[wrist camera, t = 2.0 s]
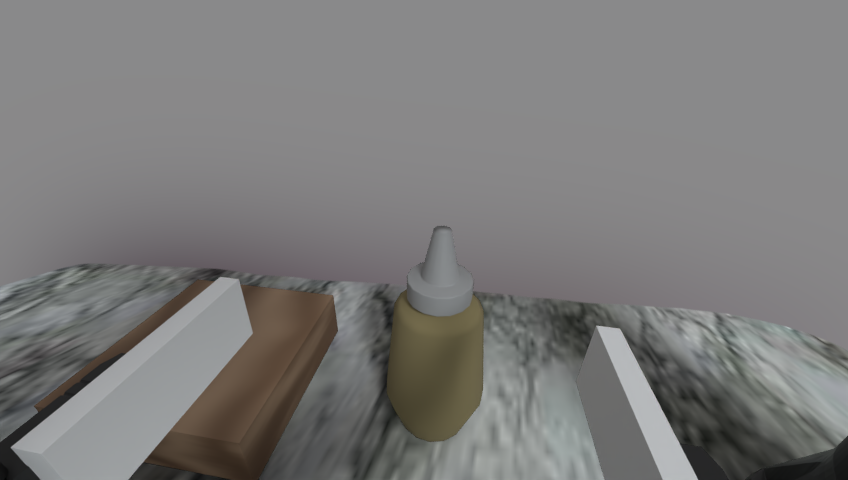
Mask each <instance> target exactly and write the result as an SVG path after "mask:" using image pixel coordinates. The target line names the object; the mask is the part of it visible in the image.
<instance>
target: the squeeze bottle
mask: <svg viewBox="0 0 848 480" xmlns="http://www.w3.org/2000/svg"><path fill="white" fill-rule="evenodd" d="M473 286H474V280H473V277H472V274H471V273H470V272H469V271H468V270H467V269H466V268H465V267H463V266H461V265H458V264H457V258H456V252H455V246H454V240H453V234H452V229H451V228H450V227H447V226H437V227H435V228H434V230H433V234H432V237H431V241H430V245H429V248H428V251H427V255H426V258H425V262H424V263H420V264H418V265H417V266H415V267H413V268H412V269H411V270H410V272H409V273H408V275H407V290H405V291H404V292H402V293H401V294H400V296H399V297H398V299H397V300H396V302H395V305H394V315H393V325H392V334H391V344H390V354H389V364H388V374H387V395H388V397H389V399H390V401H391V403H392V405H393V408H394V410H395V411H396V413H397V415H398V416H399V418H400V419H401V421H402V423H403V424H404V426H405V427H406V429H407V430H408V431H410V432H411V433H412V434H413V435H414V436H415V437H417V438H420V439H423V440H426V441H429V442H434V441H444V440H446V439H448V438H450V437H452V436H454V435H456V434H457V432H458V431H459V430H460V429H461V427H462V426H463V425H464V424H465V423H466V421H467V420H468V419H469V418H470V416H471V415H472V414H473V412H474V411H475V410H476V409H477V407H478V406H479V405H480V401H481V396H482V391H483V328H484V311H483V308H482V306H481V303H480V300H479V299H478V298H477V297H476V296H475V295H474V294H473Z"/></svg>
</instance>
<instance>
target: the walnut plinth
mask: <svg viewBox="0 0 848 480" xmlns="http://www.w3.org/2000/svg"><path fill="white" fill-rule="evenodd" d="M214 282H215V281H206V280H197V281H196V282H194V283H193V284H192V285H190V286H189V287H188V288H186V289H185V290H184V291H183V292H181V293H180V294H179V295H177V296H176V297H175V298H174V299H172V300H171V301H170V302H168V303H167V304H166V305H164V306H163V307H162V308H161V309H159V310H158V311H157V312H155V313H154V314H153V315H151V316H150V317H149V318H148V319H146V320H145V321H144V322H142V323H141V324H140V325H138V326H137V327H136V328H135V329H133V330H132V331H131V332H129V333H128V334H127V335H126V336H124V337H123V338H122V339H120V340H119V341H118V342H116V343H115V344H114V345H113V346H111V347H110V348H109V349H107V350H106V351H105V352H103V353H102V354H101V355H100V356H98V357H97V358H96V359H94V360H93V361H92V362H90V363H89V364H88V365H87V366H85V367H84V368H83V369H81V370H80V371H79V372H78V373H76V374H75V375H74V376H72V377H71V378H70V379H68V380H67V381H66V382H65V383H63V384H62V385H61V386H59V387H58V388H57V389H55V390H54V391H53V392H52V393H50V394H49V395H48V396H46V397H45V398H44V399H43V400H41V401H40V402H39V403H37V404H36V405H35V406H34V407H35V408H36V409H37V411H38V412H40V411H41V410H42V409H44V408H45V407H46V406H47V405H49V404H50V403H51V402H52V401H54V400H55V399H56V398H58V397H59V396H60V395H64V393H65V391H67V390H68V389H69V388H70V387H72V386H73V385H74V384H75V383H79V382H80V381H81V379H82V378H83V377H84V376H86V375H87V374H88V373H89V372H91V371H92V370H93V369H95V368H96V367H97V366H98V365H100V364H102V363H103V362H105V361H107V360H109V359H111V358H113V357H115V356H117V355H118V354H120V353H127V352H129V351H130V350H131V349H132V348H134V347H135V346H136V345H137V344H139V343H140V342H141V341H142V340H143V339H145V338H146V337H147V336H148V335H150V334H151V333H152V332H153V331H155V330H156V329H157V328H158V327H159V326H161V325H162V324H163V323H164V322H166V321H167V320H168V319H169V318H171V317H172V316H173V315H174V314H175V313H177V312H178V311H179V310H180V309H182V308H183V307H184V306H185V305H187V304H188V303H189V302H190V301H191V300H193V299H194V298H195V297H196V296H198V295H199V294H200V293H201V292H203V291H204V290H205V289H206V288H207V287H209V286H210V285H211V284H212V283H214ZM240 286H241V290H242V293H243V297H244V301H245V305H246V309H247V312H248V316H249V320H250V324H251V328H252V332H253V334H252V335H251V336H250V337H249V339H248V340H247V341H246V342H245V343H244V344H243V346H242V347H241V348H240V349H239V350H238V351H237V353H236V354H235V355H234V356H233V357H232V358H231V360H230V361H229V362H228V363H227V364H226V365H225V367H224V368H223V369H222V370H221V371H220V373H219V374H218V375H217V376H216V377H215V378H214V380H213V381H212V382H211V383H210V384H209V385H208V387H207V388H206V389H205V390H204V391H203V392H202V394H201V395H200V396H199V397H198V398H197V399H196V401H195V402H194V403H193V404H192V405H191V407H190V408H189V409H188V410H187V411H186V412H185V414H184V415H183V416H182V417H181V418H180V419H179V421H178V422H177V423H176V424H175V425H174V426H173V428H172V429H171V430H170V431H169V432H168V433H167V435H166V436H165V437H164V438H163V439H162V441H161V442H160V443H159V444H158V445H157V446H156V448H155V449H154V450H153V451H152V452H151V453H150V455H149V456H148V457H147V458H146V459H145V460H144V462H145V463H150V464H155V465H160V466H165V467H170V468H175V469H180V470H186V471H191V472H196V473H201V474H206V475H211V476H216V477H221V478H226V479H231V480H258V478H259V477H260V475H261V473H262V471H263V469H264V467H265V465H266V464H267V462H268V460H269V458H270V456H271V454H272V452H273V451H274V449H275V447H276V445H277V443H278V441H279V439H280V437H281V436H282V434H283V432H284V430H285V428H286V426H287V424H288V423H289V421H290V419H291V417H292V415H293V413H294V411H295V410H296V408H297V406H298V404H299V402H300V400H301V398H302V396H303V395H304V393H305V391H306V389H307V387H308V385H309V383H310V382H311V380H312V378H313V376H314V374H315V372H316V370H317V369H318V367H319V365H320V363H321V361H322V359H323V357H324V356H325V354H326V352H327V350H328V348H329V346H330V344H331V342H332V341H333V339H334V337H335V335H336V333H337V331H338V328H337V320H336V313H335V305H334V297H333V295H325V294H316V293H308V292H299V291H291V290H282V289H274V288H266V287H257V286H249V285H240Z"/></svg>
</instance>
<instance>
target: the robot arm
mask: <svg viewBox="0 0 848 480" xmlns="http://www.w3.org/2000/svg"><path fill="white" fill-rule="evenodd" d="M252 334H253V332H252V328H251V324H250V320H249V316H248V312H247V309H246V305H245V301H244V297H243V293H242V290H241V286H240V282H239V279H233V278H225V277H220V278H219V279H217V280H216V281H215V282H214V283H212V284H211V285H210V286H209V287H207V288H206V289H205V290H204V291H203V292H201V293H200V294H199V295H198V296H196V297H195V298H194V299H193V300H191V301H190V302H189V303H188V304H187V305H185V306H184V307H183V308H182V309H180V310H179V311H178V312H177V313H175V314H174V315H173V316H172V317H171V318H169V319H168V320H167V321H166V322H164V323H163V324H162V325H161V326H159V327H158V328H157V329H156V330H155V331H153V332H152V333H151V334H150V335H148V336H147V337H146V338H145V339H143V340H142V341H141V342H140V343H139V344H137V345H136V346H135V347H134V348H132V349H131V350H130V351H129V352H127V353H120V354H118V355H117V356H115V357H113V358H111V359H109V360H107V361H105V362H103V363H102V364H100V365H98V366H97V367H96V368H95V369H93V370H92V371H91V372H89V373H88V374H87V375H86V376H84V377H83V378H82V379H81V381H80V382H79V383H75V384H74V385H73V386H72V387H70V388H69V389H68V390H67V391H65V393H64V395H60V396H59V397H58V398H56V399H55V400H54V401H52V402H51V403H50V404H49V405H47V406H46V407H45V408H44V409H42V410H41V411H40V412H38V413H37V414H36V415H35V416H33V417H32V418H31V419H30V420H28V421H27V422H26V423H24V424H23V425H22V426H21V427H19V428H18V429H17V430H16V431H14V432H13V433H12V434H10V435H9V436H8V437H7V438H5V439H4V440H3V441H2V442H0V480H128V479H129V478H130V477H131V476H132V475H133V473H134V472H135V471H136V470H137V469H138V467H139V466H140V465H141V464H142V463H143V462H144V460H145V459H146V458H147V457H148V456H149V455H150V453H151V452H152V451H153V450H154V449H155V448H156V446H157V445H158V444H159V443H160V442H161V441H162V439H163V438H164V437H165V436H166V435H167V433H168V432H169V431H170V430H171V429H172V428H173V426H174V425H175V424H176V423H177V422H178V421H179V419H180V418H181V417H182V416H183V415H184V414H185V412H186V411H187V410H188V409H189V408H190V407H191V405H192V404H193V403H194V402H195V401H196V399H197V398H198V397H199V396H200V395H201V394H202V392H203V391H204V390H205V389H206V388H207V387H208V385H209V384H210V383H211V382H212V381H213V380H214V378H215V377H216V376H217V375H218V374H219V373H220V371H221V370H222V369H223V368H224V367H225V365H226V364H227V363H228V362H229V361H230V360H231V358H232V357H233V356H234V355H235V354H236V353H237V351H238V350H239V349H240V348H241V347H242V346H243V344H244V343H245V342H246V341H247V340H248V339H249V337H250V336H251V335H252ZM576 384H577V387H578V390H579V394H580V397H581V401H582V404H583V407H584V411H585V414H586V418H587V421H588V425H589V428H590V431H591V435H592V438H593V442H594V445H595V448H596V452H597V455H598V459H599V462H600V466H601V469H602V472H603V476H604V479H605V480H729V479H728V478H727V476H726V474H725V473H724V471H723V469H722V468H721V467H720V466H719V465H718V464H717V463H716V462H715V461H714V460H713V459H712V458H711V457H710V456H709V455H708V453H707V452H706V451H705V450H704V449H703V448H702V447H698V446H692V445H686V444H680V443H679V442H678V440H677V438H676V436H675V434H674V432H673V430H672V428H671V426H670V424H669V422H668V420H667V418H666V417H665V415H664V413H663V411H662V409H661V407H660V405H659V403H658V401H657V399H656V397H655V395H654V393H653V391H652V389H651V388H650V386H649V384H648V382H647V380H646V378H645V376H644V374H643V372H642V370H641V368H640V366H639V364H638V362H637V360H636V359H635V357H634V355H633V353H632V351H631V349H630V347H629V345H628V343H627V341H626V339H625V337H624V335H623V333H622V331H621V330H620V329H619V328H611V327H603V326H596V327H595V330H594V333H593V336H592V338H591V341H590V344H589V347H588V350H587V352H586V355H585V358H584V361H583V363H582V366H581V369H580V372H579V374H578V377H577V380H576ZM745 480H848V436H847V437H846V438H845V439H844V440H843V441H842V442H841V443H840V444H839V445H838V446H837V447H835V448H834V449H831V450H828V451H824V452H820V453H817V454H813V455H809V456H806V457H802V458H798V459H795V460H791V461H787V462H784V463H780V464H776V465H773V466H769V467H766V468H763V469H760V470H758V471H756V472H755V473H753V474H751V475H750V476H749V477H747V478H746V479H745Z"/></svg>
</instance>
